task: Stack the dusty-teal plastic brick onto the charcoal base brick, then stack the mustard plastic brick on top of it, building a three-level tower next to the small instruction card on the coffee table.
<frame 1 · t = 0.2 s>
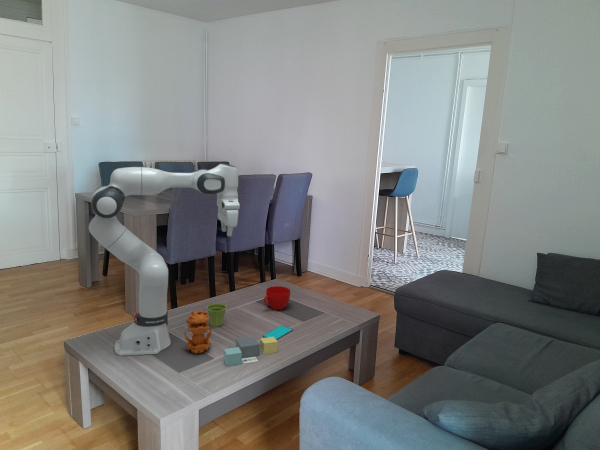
hand: (226, 233, 191), 47 cm above the table, tool pointing down, fingers open, 8 cm apart
brick mustard: (268, 350, 188), on the table
brick teal: (232, 362, 177), on the table
tower base: (247, 352, 185), on the table
smartphone: (278, 334, 205), on the table
orange figurine: (198, 350, 185), on the table
ceramic cup: (274, 309, 235), on the table
plant pot: (216, 324, 212), on the table
instruction card: (249, 360, 179), on the table
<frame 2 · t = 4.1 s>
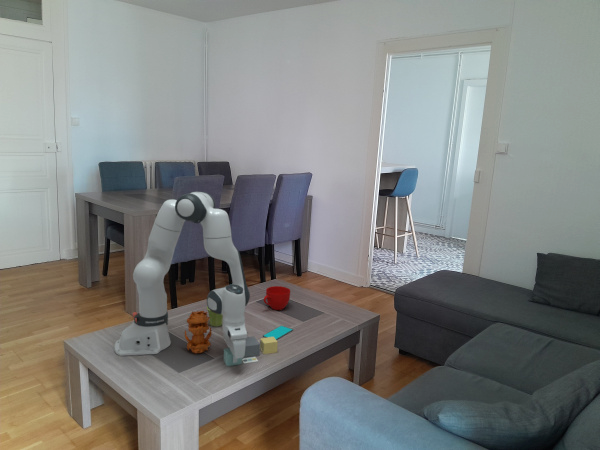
hand: (232, 358, 176), 2 cm above the table, tool pointing down, fingers closed on brick teal, 5 cm apart
brick teal: (232, 362, 177), on the table, touching gripper
everything else where it was.
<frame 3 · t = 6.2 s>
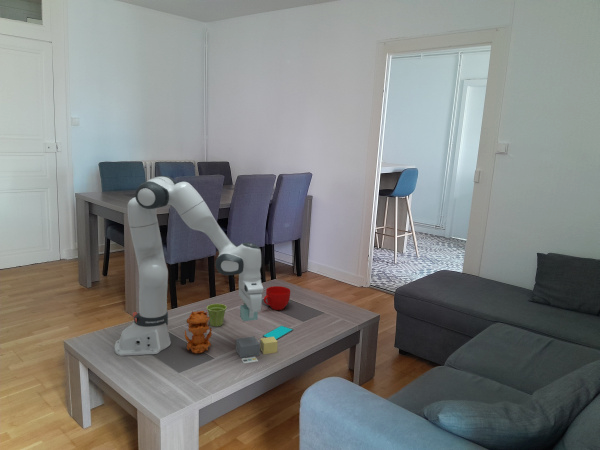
hand: (248, 314, 182), 17 cm above the table, tool pointing down, fingers closed on brick teal, 5 cm apart
brick teal: (248, 318, 182), point 15 cm above the table, touching gripper
everything else where it was.
when the fingers open (8 cm above the table, at t = 8.3 s): brick teal stays where it is, resting on tower base.
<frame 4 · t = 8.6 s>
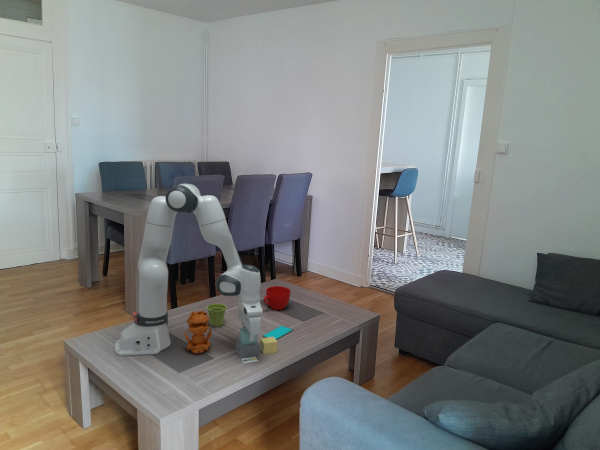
hand: (247, 335, 184), 8 cm above the table, tool pointing down, fingers open, 8 cm apart
brick teal: (247, 341, 184), point 5 cm above the table, touching tower base
everything else where it was.
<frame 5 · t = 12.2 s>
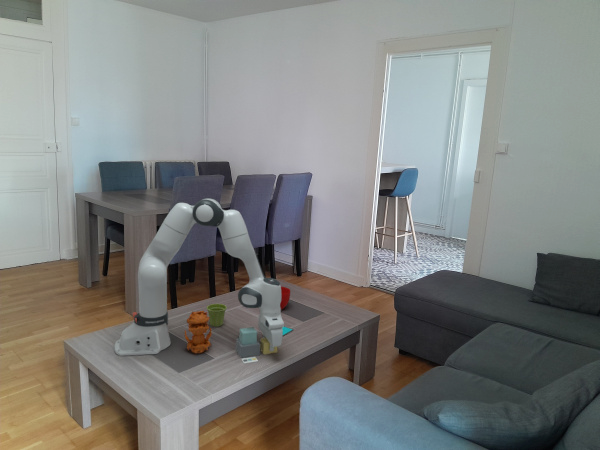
hand: (268, 347, 188), 2 cm above the table, tool pointing down, fingers closed on brick mustard, 5 cm apart
brick mustard: (268, 350, 188), on the table, touching gripper
everything else where it was.
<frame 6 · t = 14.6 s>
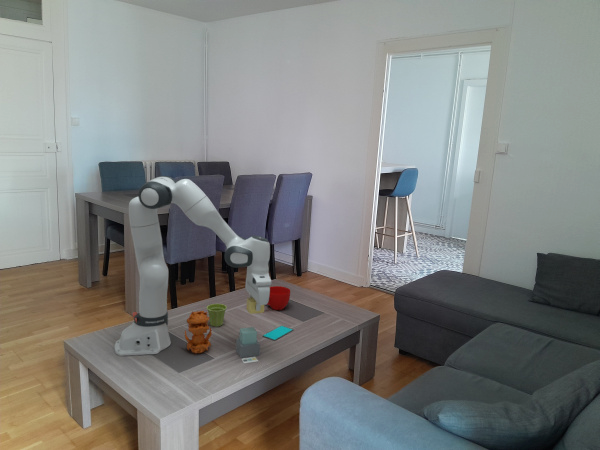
hand: (255, 307, 183), 20 cm above the table, tool pointing down, fingers closed on brick mustard, 5 cm apart
brick mustard: (255, 311, 183), point 18 cm above the table, touching gripper
everything else where it was.
when the fingers open (13 cm above the table, at t = 16.8 s): brick mustard stays where it is, resting on brick teal.
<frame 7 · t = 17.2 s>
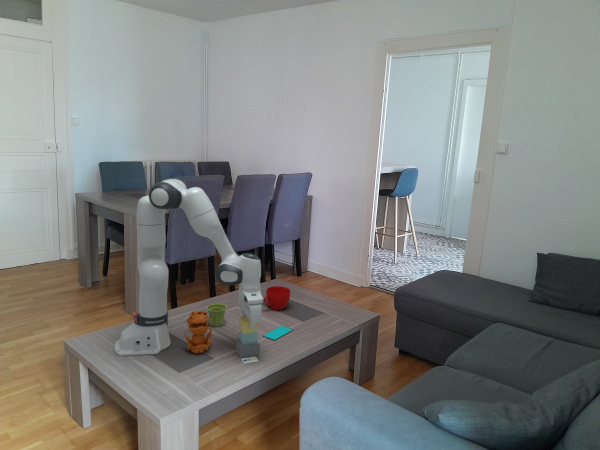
hand: (248, 324, 183), 13 cm above the table, tool pointing down, fingers open, 8 cm apart
brick mustard: (248, 330, 183), point 10 cm above the table, touching brick teal
brick teal: (247, 341, 184), point 5 cm above the table, touching brick mustard, tower base
everything else where it was.
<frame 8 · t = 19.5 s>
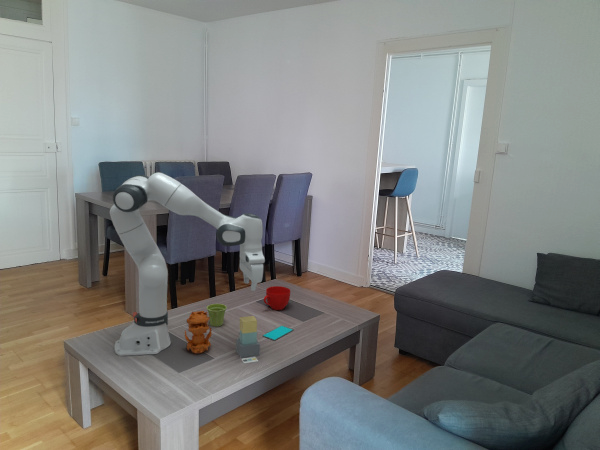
hand: (249, 286, 180), 29 cm above the table, tool pointing down, fingers open, 8 cm apart
nothing on the table moved.
at the end: brick teal 0.0 cm off-centre on the tower base, point 5.0 cm above the tower base's base; brick mustard 0.1 cm off-centre on the tower base, point 10.0 cm above the tower base's base; brick mustard tilted 0° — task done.
